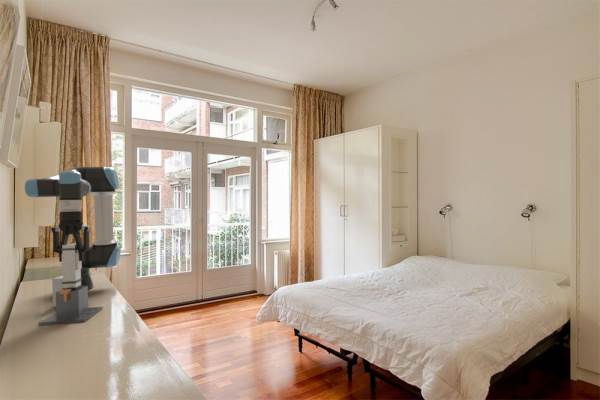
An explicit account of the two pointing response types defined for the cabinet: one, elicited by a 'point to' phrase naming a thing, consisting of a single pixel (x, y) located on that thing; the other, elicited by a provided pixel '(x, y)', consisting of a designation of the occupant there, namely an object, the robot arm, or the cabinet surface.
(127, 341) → the cabinet surface
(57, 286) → the supplement box
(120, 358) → the cabinet surface
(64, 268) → the column
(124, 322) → the cabinet surface
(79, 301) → the stand base
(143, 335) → the cabinet surface
